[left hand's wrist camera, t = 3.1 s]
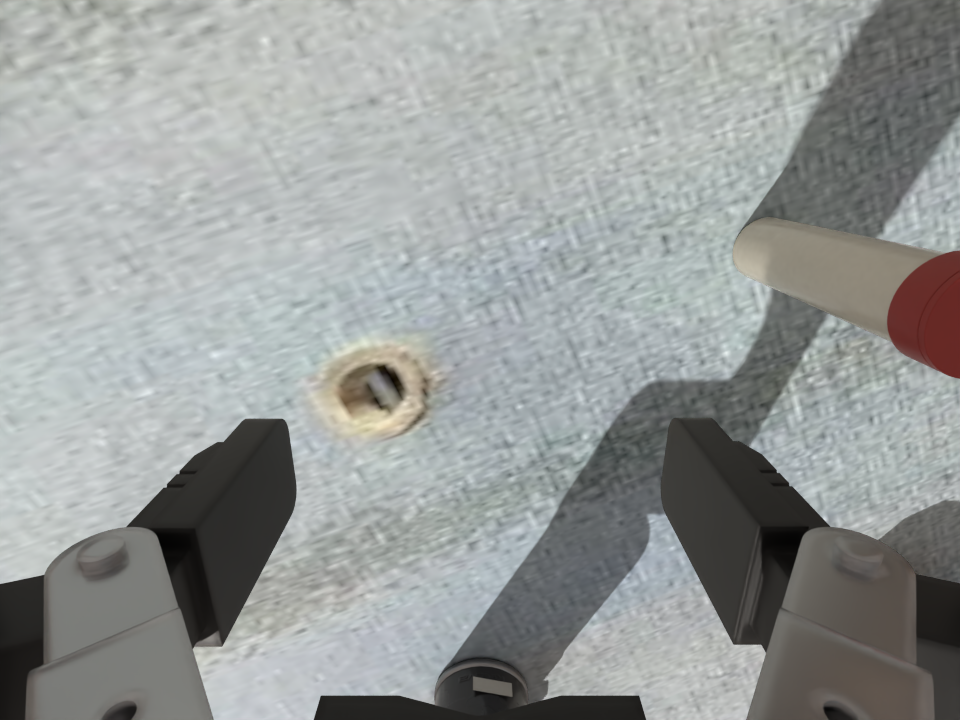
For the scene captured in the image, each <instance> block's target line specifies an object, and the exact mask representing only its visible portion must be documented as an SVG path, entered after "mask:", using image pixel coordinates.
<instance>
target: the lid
mask: <svg viewBox="0 0 960 720" xmlns="http://www.w3.org/2000/svg"><path fill="white" fill-rule="evenodd" d="M887 328H888V333H889V336H890V339H891V341H892V343H893V344H894V345H895V347H896V348H897V349H898V350H899V351H900V352H901V353H903V354H904V355H906V356H908V357H910V358H912V359H914V360H916V361H918V362H920V363H922V364H925V365H927V366H929V367H931V368H933V369H935V370H937V371H940V372H942V373H944V374H946V375H948V376H951V377H954V378H960V251H953V252H949V253H945V254H942V255H939V256H936V257H934V258H932V259H930V260H928V261H927V262H925V263H923V264H922V265H920V266H919V267H918V268H916V269H915V270H914V271H913V272H912V273H911V274H909V275H908V276H907V278H906V279H905V280H904V281H903V282H902V283H901V285H900V286H899V288H898V289H897V290H896V292H895V294H894V296H893V298H892V301H891V303H890V306H889V309H888V315H887Z"/></svg>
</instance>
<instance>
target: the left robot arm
mask: <svg viewBox="0 0 960 720" xmlns="http://www.w3.org/2000/svg"><path fill="white" fill-rule="evenodd" d="M661 498H662V504H663V508H664V511H665V513H666V516H667V517H668V519H669V521H670V523H671V525H672V527H673V529H674V531H675V533H676V535H677V537H678V539H679V541H680V542H681V544H682V546H683V548H684V550H685V552H686V554H687V556H688V558H689V560H690V562H691V564H692V566H693V567H694V569H695V571H696V573H697V575H698V577H699V579H700V581H701V583H702V585H703V587H704V589H705V591H706V592H707V594H708V596H709V598H710V600H711V602H712V604H713V606H714V608H715V610H716V612H717V614H718V615H719V617H720V619H721V621H722V623H723V625H724V627H725V629H726V631H727V633H728V635H729V637H730V639H731V640H732V642H733V644H734V645H762V646H763V648H764V650H765V652H766V656H765V659H764V662H763V666H762V669H761V672H760V676H759V679H758V682H757V686H756V689H755V692H754V696H753V699H752V702H751V706H750V709H749V712H748V716H747V719H746V720H960V583H955V582H951V581H946V580H941V579H936V578H931V577H927V576H922V575H917V574H915V572H914V570H913V568H912V567H911V565H910V564H909V563H908V562H907V561H906V560H905V559H904V558H903V557H902V556H901V555H900V554H899V553H898V552H896V551H895V550H893V549H892V548H890V547H889V546H887V545H886V544H884V543H882V542H880V541H878V540H876V539H874V538H872V537H870V536H867V535H864V534H862V533H859V532H855V531H852V530H848V529H843V528H836V527H830V526H829V525H828V524H827V523H826V522H825V521H824V520H823V518H822V517H821V516H820V515H819V514H818V513H817V512H816V511H815V510H814V509H813V508H812V507H811V506H810V505H809V504H808V503H807V502H806V501H805V499H804V498H803V497H802V496H801V495H800V494H799V493H798V492H797V491H796V490H795V489H794V488H793V487H792V486H789V483H788V482H787V481H786V479H785V478H784V477H783V476H782V475H781V474H780V473H777V470H776V469H775V468H774V467H773V466H772V465H771V464H770V463H769V462H768V460H767V459H766V458H765V457H764V456H763V455H762V454H760V453H758V452H757V451H755V450H753V449H751V448H750V447H748V446H746V445H745V444H743V443H741V442H739V441H732V440H731V438H730V437H729V436H728V435H727V434H726V433H725V432H724V431H723V429H722V428H721V427H720V426H719V425H718V424H717V423H716V422H715V420H713V419H712V418H674V419H673V420H672V421H671V423H670V426H669V430H668V437H667V444H666V451H665V458H664V465H663V472H662V479H661ZM295 501H296V479H295V472H294V465H293V458H292V451H291V444H290V437H289V430H288V426H287V423H286V422H285V420H284V419H245V420H243V421H242V422H241V423H240V424H239V425H238V427H237V428H236V429H235V430H234V431H233V432H232V433H231V434H230V435H229V437H228V438H227V439H226V440H225V441H224V442H217V443H215V444H214V445H212V446H210V447H208V448H207V449H205V450H203V451H202V452H200V453H198V454H196V455H195V456H194V457H193V458H192V459H191V460H190V461H189V462H188V463H187V464H186V465H185V466H184V467H183V468H182V469H181V470H180V474H176V476H175V477H174V478H173V479H172V480H171V481H170V482H169V483H168V484H167V488H163V489H162V490H161V491H160V492H159V493H158V494H157V495H156V496H155V497H154V499H153V500H152V501H151V502H150V503H149V504H148V505H147V506H146V507H145V508H144V509H143V510H142V511H141V512H140V513H139V514H138V515H137V516H136V517H135V518H134V519H133V520H132V522H131V523H130V524H129V525H128V526H127V527H124V528H117V529H112V530H108V531H105V532H101V533H98V534H96V535H93V536H90V537H88V538H86V539H84V540H82V541H80V542H78V543H76V544H74V545H73V546H71V547H70V548H68V549H67V550H65V551H64V552H62V553H61V554H60V555H59V556H58V557H57V558H56V559H55V560H54V561H53V562H52V563H51V564H50V565H49V567H48V568H47V570H46V572H45V575H42V576H37V577H33V578H28V579H23V580H18V581H13V582H8V583H4V584H0V720H214V719H213V716H212V712H211V709H210V706H209V702H208V699H207V696H206V692H205V689H204V686H203V682H202V679H201V676H200V672H199V669H198V666H197V662H196V659H195V656H194V652H193V648H194V647H222V646H223V644H224V642H225V640H226V638H227V636H228V635H229V633H230V631H231V629H232V627H233V625H234V623H235V621H236V619H237V618H238V616H239V614H240V612H241V610H242V608H243V606H244V604H245V602H246V600H247V599H248V597H249V595H250V593H251V591H252V589H253V587H254V585H255V583H256V581H257V580H258V578H259V576H260V574H261V572H262V570H263V568H264V566H265V564H266V562H267V561H268V559H269V557H270V555H271V553H272V551H273V549H274V547H275V545H276V543H277V542H278V540H279V538H280V536H281V534H282V532H283V530H284V528H285V526H286V524H287V523H288V521H289V519H290V517H291V515H292V513H293V510H294V506H295ZM434 700H435V705H432V704H429V703H425V702H421V701H417V700H413V699H410V698H406V697H402V696H321V697H320V701H319V704H318V708H317V711H316V714H315V718H314V720H646V718H645V714H644V711H643V708H642V704H641V701H640V697H639V696H558V697H554V698H550V699H547V700H543V701H539V702H535V703H531V704H528V690H527V685H526V682H525V680H524V678H523V677H522V675H521V674H520V673H519V672H518V671H517V670H516V669H514V668H513V667H511V666H510V665H508V664H505V663H503V662H500V661H497V660H492V659H471V660H466V661H462V662H460V663H457V664H455V665H453V666H451V667H450V668H448V669H447V670H446V671H445V672H444V673H443V674H442V675H441V676H440V678H439V679H438V681H437V684H436V687H435V699H434Z"/></svg>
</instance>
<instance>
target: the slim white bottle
mask: <svg viewBox="0 0 960 720" xmlns="http://www.w3.org/2000/svg"><path fill="white" fill-rule="evenodd" d="M942 254H945V252H940V251H935V250H930V249H926V248H921V247H916V246H911V245H906V244H901V243H896V242H891V241H887V240H882V239H877V238H872V237H867V236H862V235H857V234H853V233H848V232H843V231H838V230H833V229H828V228H823V227H819V226H814V225H809V224H804V223H799V222H794V221H789V220H785V219H780V218H774V217H765V218H761V219H758V220H756V221H754V222H752V223H750V224H749V225H747V226H746V227H745V228H744V229H743V230H742V231H741V233H740V234H739V235H738V237H737V239H736V241H735V244H734V248H733V260H734V263H735V266H736V268H737V269H738V270H739V272H740V273H742V274H743V275H744V276H746V277H748V278H750V279H753V280H755V281H757V282H759V283H762V284H764V285H766V286H768V287H770V288H773V289H775V290H777V291H779V292H782V293H784V294H786V295H788V296H790V297H793V298H795V299H797V300H799V301H802V302H804V303H806V304H808V305H810V306H813V307H815V308H817V309H819V310H822V311H824V312H826V313H828V314H830V315H833V316H835V317H837V318H839V319H842V320H844V321H846V322H848V323H850V324H853V325H855V326H857V327H859V328H862V329H864V330H866V331H868V332H870V333H873V334H875V335H877V336H879V337H882V338H884V339H886V340H888V341H890V342H892V341H891V339H890V336H889V333H888V328H887V315H888V309H889V306H890V303H891V301H892V298H893V296H894V294H895V292H896V290H897V289H898V288H899V286H900V285H901V283H902V282H903V281H904V280H905V279H906V278H907V276H908V275H909V274H911V273H912V272H913V271H914V270H915V269H916V268H918V267H919V266H920V265H922V264H923V263H925V262H927V261H928V260H930V259H932V258H934V257H936V256H939V255H942Z"/></svg>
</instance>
